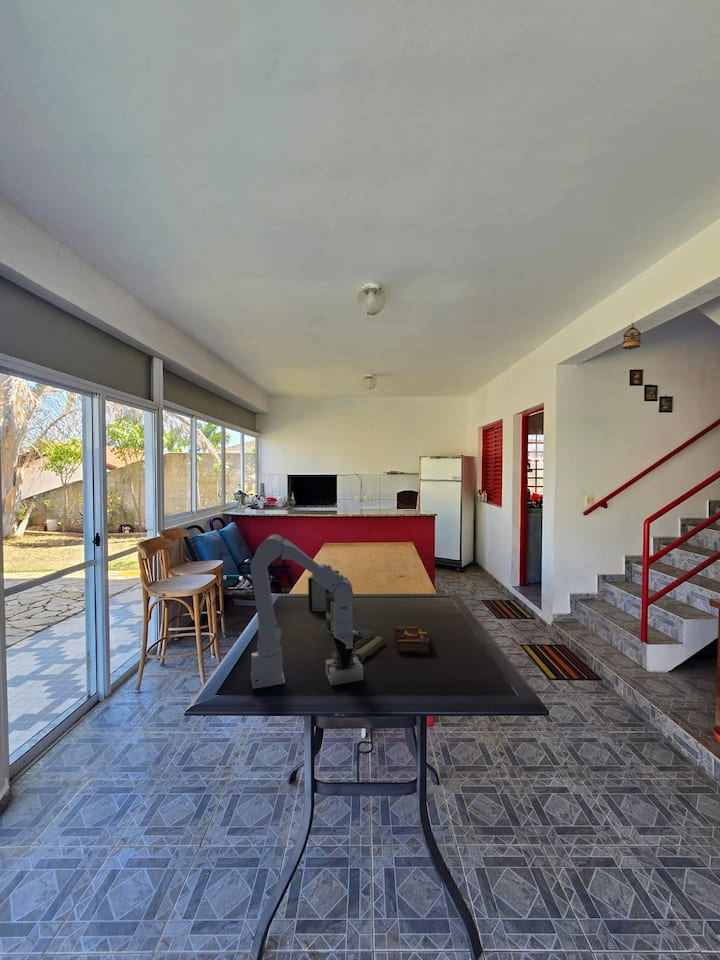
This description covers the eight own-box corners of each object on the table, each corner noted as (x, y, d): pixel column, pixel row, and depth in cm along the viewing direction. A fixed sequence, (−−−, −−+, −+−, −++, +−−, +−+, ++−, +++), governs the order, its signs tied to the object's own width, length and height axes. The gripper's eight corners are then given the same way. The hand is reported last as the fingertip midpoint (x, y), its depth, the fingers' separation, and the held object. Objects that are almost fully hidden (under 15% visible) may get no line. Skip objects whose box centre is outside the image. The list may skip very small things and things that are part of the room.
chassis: (331, 685, 116) (331, 672, 116) (325, 672, 124) (325, 659, 124) (363, 679, 119) (363, 666, 119) (356, 667, 127) (355, 655, 127)
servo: (332, 672, 119) (331, 653, 119) (329, 667, 122) (329, 648, 122) (356, 668, 121) (356, 649, 121) (353, 663, 124) (353, 645, 124)
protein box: (339, 601, 192) (339, 570, 192) (329, 612, 177) (329, 578, 177) (319, 600, 195) (319, 569, 194) (308, 611, 180) (307, 577, 179)
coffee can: (320, 630, 157) (320, 595, 157) (336, 622, 165) (336, 589, 165) (341, 636, 151) (340, 600, 151) (356, 628, 159) (356, 593, 159)
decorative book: (397, 654, 136) (397, 640, 136) (394, 635, 152) (394, 622, 152) (430, 654, 136) (430, 640, 136) (423, 635, 152) (423, 622, 152)
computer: (366, 640, 148) (365, 632, 148) (384, 645, 144) (384, 636, 144) (342, 657, 135) (342, 648, 135) (362, 663, 130) (361, 653, 130)
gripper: (362, 625, 116) (363, 671, 116) (349, 609, 129) (350, 650, 130) (339, 628, 114) (339, 675, 114) (328, 611, 127) (329, 653, 128)
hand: (343, 662), depth 122 cm, fingers closed on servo, 3 cm apart
